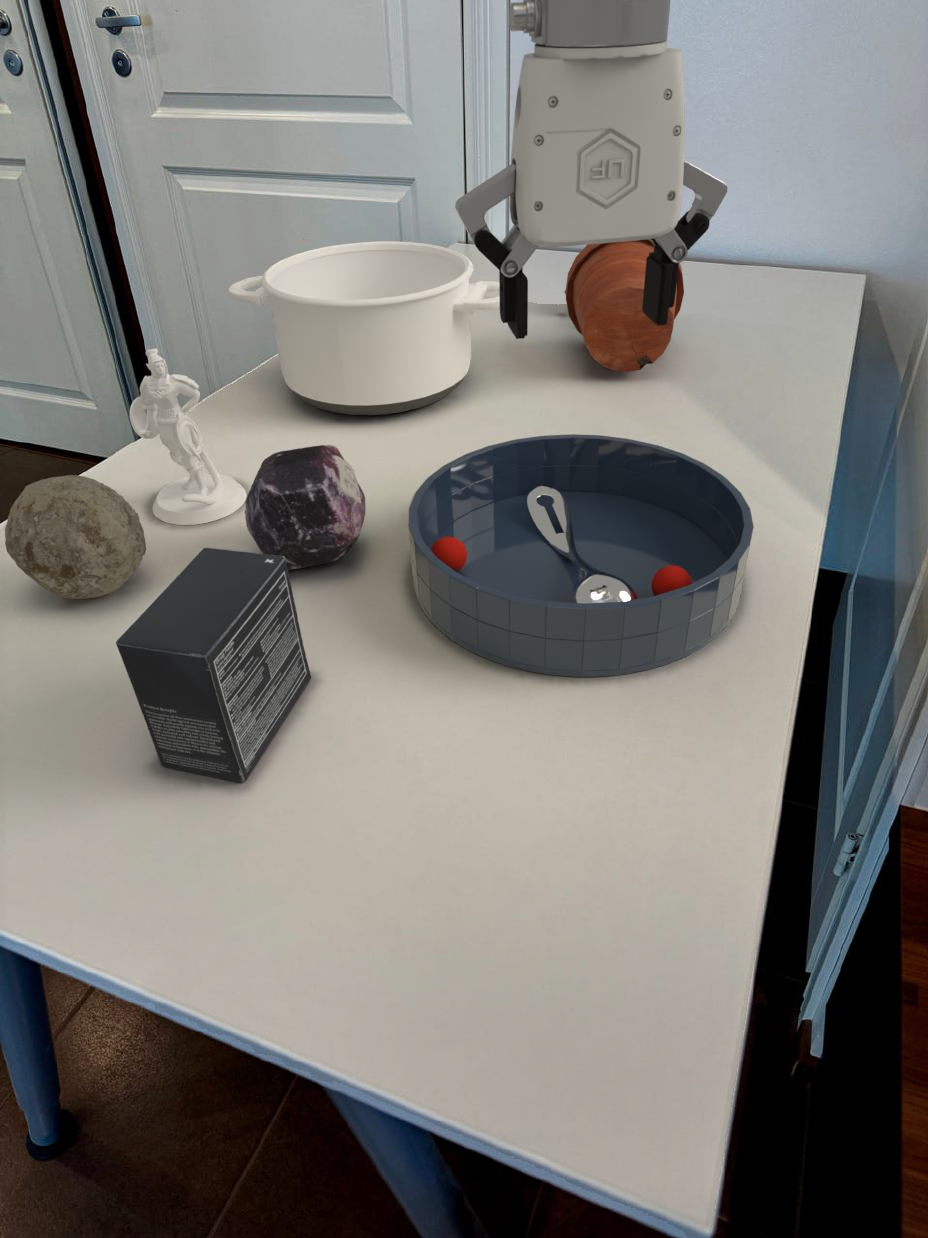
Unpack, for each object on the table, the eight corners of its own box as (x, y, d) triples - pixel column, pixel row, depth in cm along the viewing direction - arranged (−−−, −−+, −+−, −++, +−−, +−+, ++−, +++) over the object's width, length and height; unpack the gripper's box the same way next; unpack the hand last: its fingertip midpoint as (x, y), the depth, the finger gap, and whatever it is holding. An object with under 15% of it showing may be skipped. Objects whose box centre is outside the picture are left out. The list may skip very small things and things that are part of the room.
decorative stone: (178, 568, 75) (148, 462, 69) (119, 626, 68) (81, 515, 62) (76, 552, 77) (40, 448, 71) (11, 607, 71) (-36, 498, 65)
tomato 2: (705, 584, 67) (680, 615, 67) (676, 561, 68) (652, 592, 69) (692, 578, 64) (666, 610, 65) (662, 554, 66) (637, 586, 66)
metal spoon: (515, 469, 77) (566, 463, 78) (514, 504, 79) (564, 497, 80) (587, 613, 62) (650, 603, 63) (583, 650, 64) (644, 640, 65)
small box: (232, 663, 64) (201, 541, 58) (314, 677, 63) (291, 553, 56) (154, 767, 56) (107, 638, 50) (245, 785, 55) (210, 655, 48)
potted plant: (690, 396, 103) (667, 281, 129) (700, 265, 93) (673, 169, 119) (556, 402, 105) (560, 288, 131) (552, 275, 95) (557, 178, 121)
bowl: (756, 517, 78) (768, 455, 74) (716, 711, 58) (729, 641, 55) (477, 476, 86) (475, 419, 82) (359, 636, 66) (350, 570, 63)
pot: (531, 357, 110) (533, 242, 102) (498, 438, 92) (496, 306, 84) (285, 346, 117) (267, 237, 108) (208, 420, 99) (180, 296, 90)
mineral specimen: (338, 585, 68) (277, 470, 64) (256, 593, 75) (197, 489, 71) (408, 525, 75) (357, 416, 71) (327, 537, 82) (277, 439, 78)
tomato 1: (423, 573, 72) (447, 559, 74) (451, 584, 70) (475, 569, 72) (421, 540, 70) (445, 527, 72) (450, 550, 68) (473, 536, 70)
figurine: (132, 513, 82) (84, 357, 73) (194, 472, 89) (157, 324, 80) (206, 532, 79) (166, 372, 70) (265, 488, 85) (235, 335, 76)
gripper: (461, 35, 46) (471, 357, 56) (775, 18, 48) (729, 332, 58) (440, 27, 52) (452, 319, 62) (720, 12, 53) (687, 297, 64)
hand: (586, 325), depth 60 cm, fingers open, 9 cm apart
